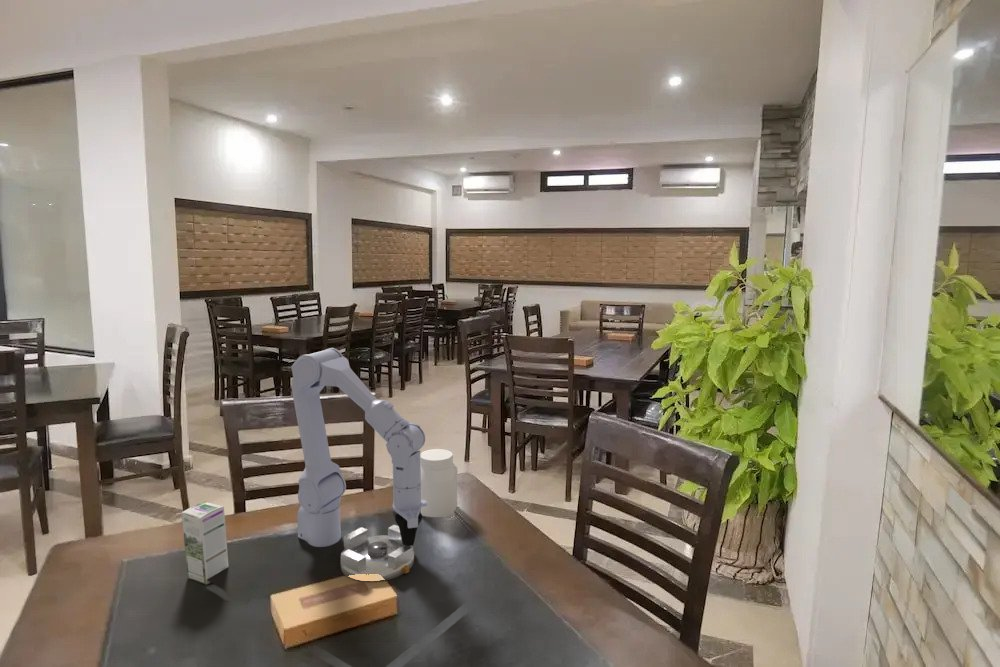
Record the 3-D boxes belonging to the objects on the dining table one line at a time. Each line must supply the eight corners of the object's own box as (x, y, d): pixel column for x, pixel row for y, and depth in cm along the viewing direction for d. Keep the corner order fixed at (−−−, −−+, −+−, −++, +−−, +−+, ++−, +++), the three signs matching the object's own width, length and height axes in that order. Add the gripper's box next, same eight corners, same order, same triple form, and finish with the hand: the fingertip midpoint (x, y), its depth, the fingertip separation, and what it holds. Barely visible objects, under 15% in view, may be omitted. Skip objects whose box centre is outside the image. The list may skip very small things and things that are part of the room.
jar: (451, 522, 144) (451, 463, 141) (412, 520, 144) (411, 462, 142) (459, 502, 155) (458, 447, 153) (423, 500, 156) (422, 446, 154)
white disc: (325, 566, 122) (324, 546, 121) (378, 537, 134) (378, 518, 133) (380, 592, 113) (379, 570, 112) (432, 558, 125) (432, 538, 124)
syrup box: (230, 571, 122) (225, 505, 120) (205, 586, 117) (200, 517, 114) (210, 565, 124) (206, 499, 122) (185, 579, 119) (180, 511, 117)
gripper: (432, 495, 117) (433, 558, 119) (419, 468, 131) (420, 526, 133) (397, 499, 115) (398, 564, 117) (387, 472, 129) (389, 530, 131)
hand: (408, 544), depth 125 cm, fingers closed
